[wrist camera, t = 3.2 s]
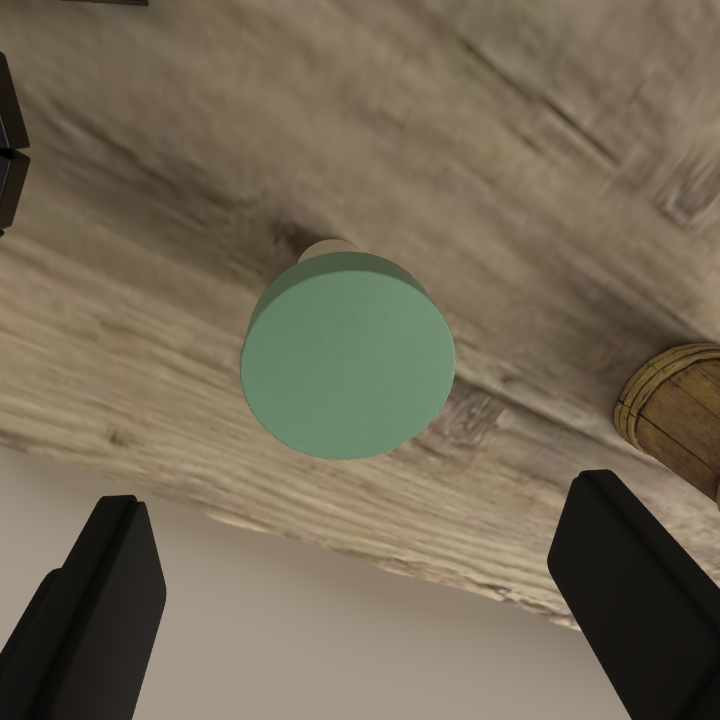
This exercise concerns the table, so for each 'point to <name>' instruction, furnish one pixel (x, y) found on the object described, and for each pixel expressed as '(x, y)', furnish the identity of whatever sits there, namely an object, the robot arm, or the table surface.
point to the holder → (19, 136)
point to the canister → (346, 355)
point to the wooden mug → (677, 413)
